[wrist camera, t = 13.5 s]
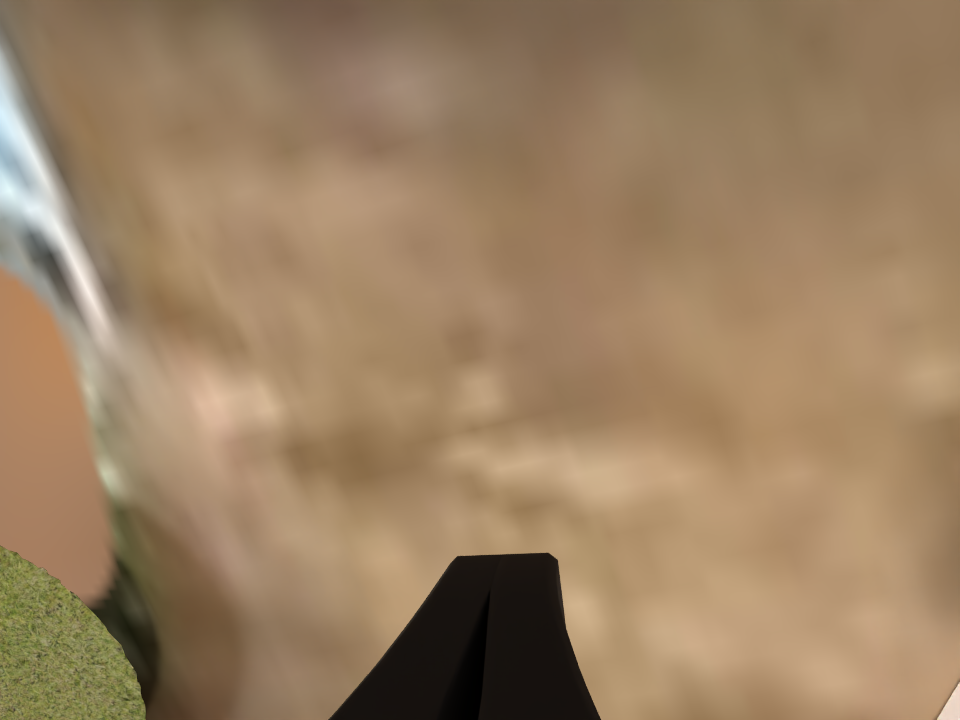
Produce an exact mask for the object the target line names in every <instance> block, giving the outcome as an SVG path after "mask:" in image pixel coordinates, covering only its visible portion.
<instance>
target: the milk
mask: <svg viewBox="0 0 960 720" xmlns="http://www.w3.org/2000/svg"><path fill="white" fill-rule="evenodd" d="M937 720H960V682H959V684H958V685H957V687H956V689H955V690H954V692H953V694H952V695H951V697H950V699H949V700H948V702H947V704H946V705H945V707H944V709H943V710H942V712H941V714H940V715H939V717H938V719H937Z"/></svg>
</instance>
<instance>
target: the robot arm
mask: <svg viewBox="0 0 960 720" xmlns="http://www.w3.org/2000/svg"><path fill="white" fill-rule="evenodd" d="M328 720H601V719H600V716H599V714H598V712H597V710H596V707H595V705H594V703H593V700H592V698H591V696H590V693H589V691H588V689H587V686H586V684H585V681H584V679H583V676H582V674H581V671H580V669H579V666H578V663H577V660H576V657H575V654H574V651H573V648H572V645H571V642H570V639H569V636H568V633H567V630H566V624H565V616H564V608H563V599H562V591H561V583H560V575H559V566H558V560H557V559H556V558H554V557H553V556H552V555H551V554H549V553H529V554H503V555H477V556H457V557H456V558H455V559H454V560H453V561H452V562H451V563H450V565H449V566H448V568H447V569H446V571H445V572H444V574H443V575H442V576H441V578H440V579H439V581H438V582H437V584H436V585H435V587H434V588H433V590H432V591H431V592H430V594H429V595H428V597H427V598H426V600H425V601H424V602H423V604H422V605H421V607H420V608H419V609H418V611H417V612H416V613H415V615H414V616H413V618H412V619H411V620H410V622H409V623H408V624H407V626H406V627H405V628H404V630H403V631H402V632H401V634H400V635H399V636H398V637H397V639H396V640H395V641H394V643H393V644H392V645H391V646H390V648H389V649H388V650H387V652H386V653H385V654H384V656H383V657H382V658H381V659H380V661H379V662H378V663H377V664H376V666H375V667H374V668H373V669H372V671H371V672H370V673H369V674H368V675H367V676H366V677H365V679H364V680H363V681H362V682H361V683H360V684H359V686H358V687H357V688H356V689H355V690H354V691H353V692H352V694H351V695H350V696H349V697H348V698H347V699H346V701H345V702H344V703H343V704H342V705H341V706H340V707H339V709H338V710H337V711H336V712H335V713H334V714H333V715H332V716H331V717H330V718H329V719H328Z"/></svg>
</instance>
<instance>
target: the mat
mask: <svg viewBox="0 0 960 720" xmlns="http://www.w3.org/2000/svg"><path fill="white" fill-rule="evenodd" d="M132 669H133V667H132V665H131V664H130V662H129V661H128V659H127V657H126V655H125V654H124V651H123V648H122V646H121V644H120V643H119V642H118V641H117V640H116V639H115V638H114V637H113V636H112V635H111V634H110V633H109V632H108V631H107V629H106V627H105V626H104V624H103V623H102V622H101V621H100V619H99V618H98V617H97V616H96V615H95V614H94V613H93V612H92V611H91V610H90V609H89V608H88V607H87V606H86V605H85V604H84V603H83V602H82V601H81V600H80V599H79V598H78V597H77V596H76V595H75V594H74V593H72V592H71V591H69V590H67V589H66V588H65V587H64V586H63V585H61V583H60V580H59V579H56V578H54V577H52V576H50V575H49V574H48V573H47V571H46V570H45V569H44V568H38V567H36V566H35V565H34V564H32V563H31V562H29V561H27V560H25V559H22V558H21V557H20V556H19V554H18V553H16V552H13V551H9V550H7V549H5V548H3V547H2V546H0V720H145V714H146V709H145V704H144V701H143V699H142V697H141V687H140V684H139V683H138V682H137V674H136V671H134V670H132Z"/></svg>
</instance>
